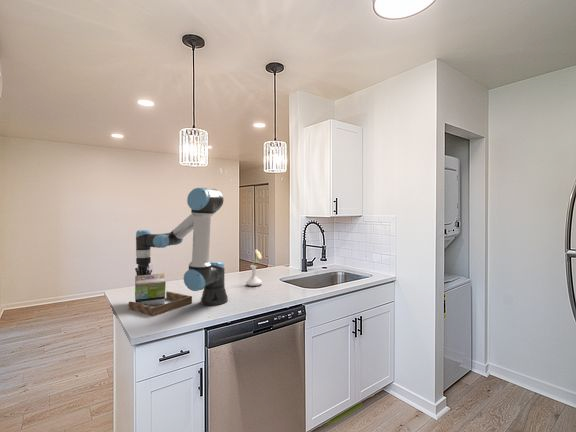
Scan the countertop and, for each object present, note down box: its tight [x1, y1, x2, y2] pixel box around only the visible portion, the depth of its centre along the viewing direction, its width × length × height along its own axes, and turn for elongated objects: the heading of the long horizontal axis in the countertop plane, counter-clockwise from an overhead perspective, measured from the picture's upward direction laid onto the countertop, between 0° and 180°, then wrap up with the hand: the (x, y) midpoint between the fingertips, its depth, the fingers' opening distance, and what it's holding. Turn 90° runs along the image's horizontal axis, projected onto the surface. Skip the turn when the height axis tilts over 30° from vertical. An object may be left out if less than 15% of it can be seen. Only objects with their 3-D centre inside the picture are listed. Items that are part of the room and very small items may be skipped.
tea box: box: [134, 273, 167, 306], centre depth 167 cm, size 15×10×15 cm
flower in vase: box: [245, 249, 263, 287], centre depth 211 cm, size 13×11×25 cm
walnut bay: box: [128, 291, 193, 317], centre depth 165 cm, size 21×24×4 cm
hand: (143, 297), depth 173 cm, fingers closed
